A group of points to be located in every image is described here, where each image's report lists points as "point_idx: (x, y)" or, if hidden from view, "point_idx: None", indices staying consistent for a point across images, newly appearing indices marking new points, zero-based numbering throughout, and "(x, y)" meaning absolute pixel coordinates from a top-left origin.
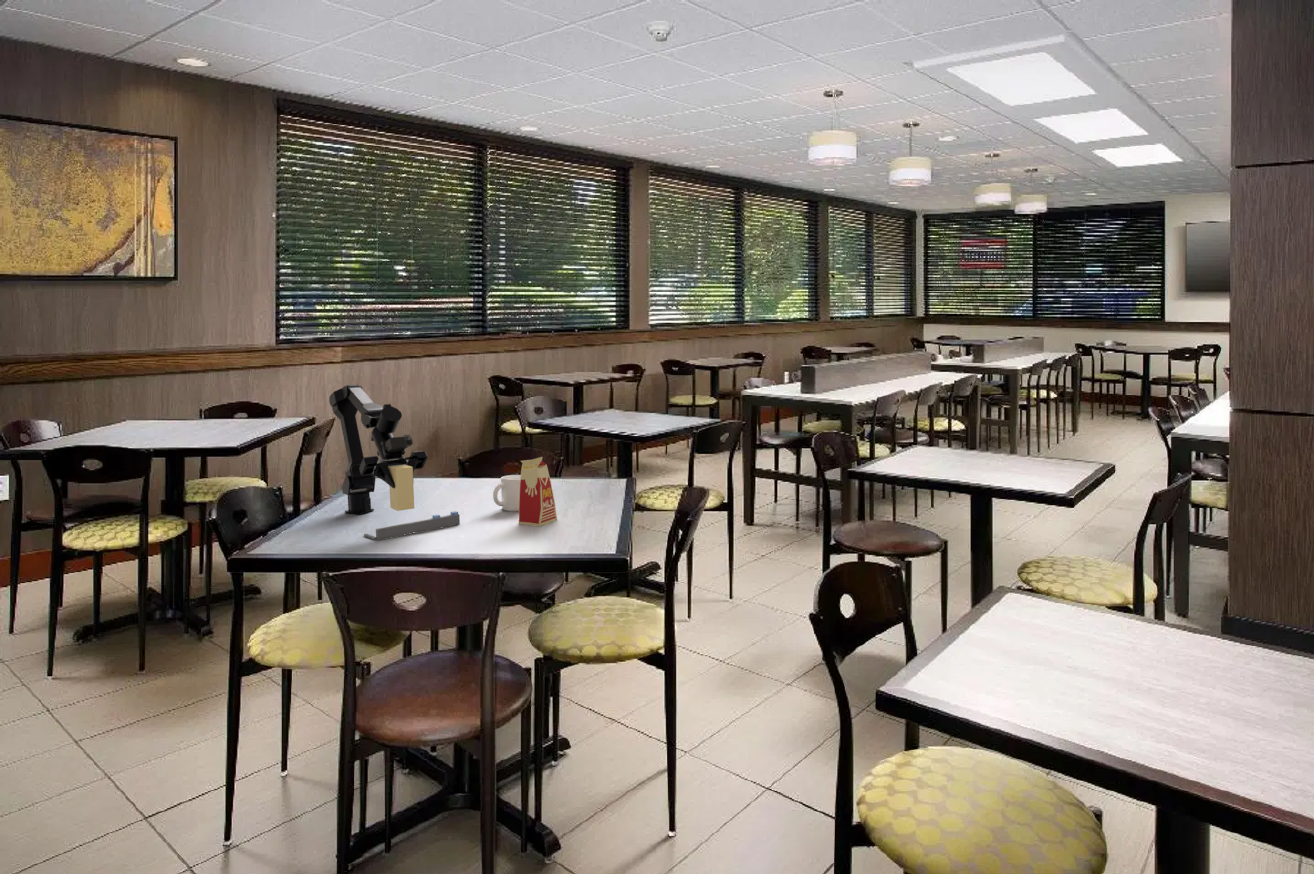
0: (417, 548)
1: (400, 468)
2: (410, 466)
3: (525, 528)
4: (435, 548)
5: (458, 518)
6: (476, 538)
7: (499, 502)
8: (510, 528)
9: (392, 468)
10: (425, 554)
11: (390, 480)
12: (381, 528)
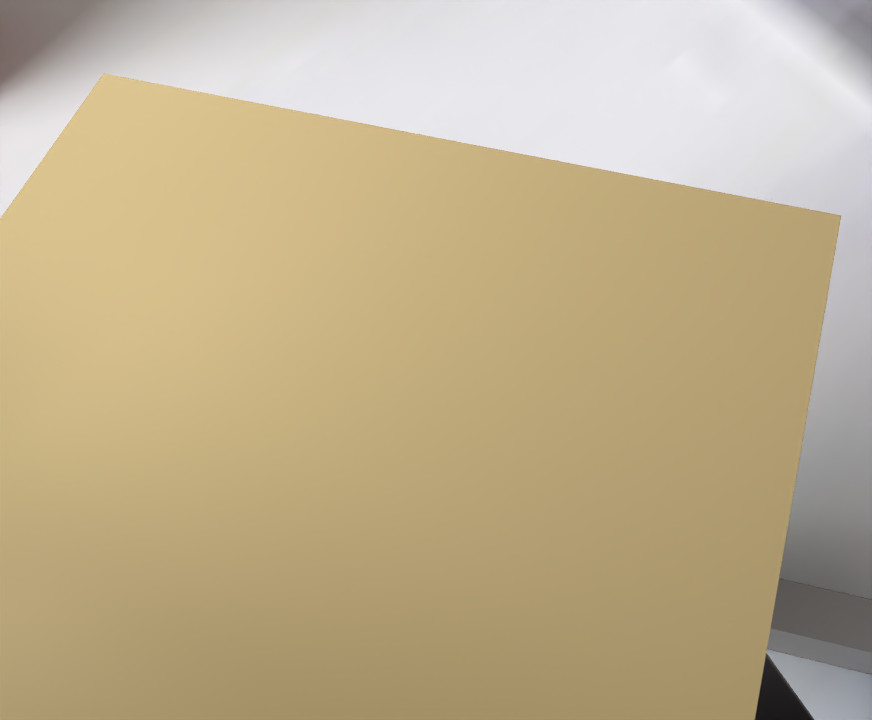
0: (792, 165)
1: (590, 174)
2: (21, 208)
3: (43, 32)
4: (706, 84)
5: None
6: (368, 72)
7: None
8: (68, 88)
9: (768, 620)
10: (847, 32)
11: (777, 676)
12: (870, 625)
